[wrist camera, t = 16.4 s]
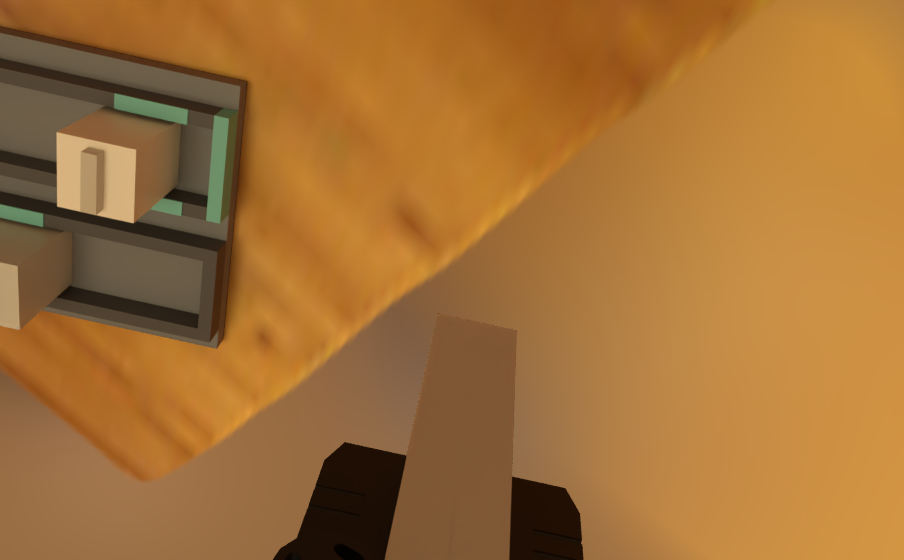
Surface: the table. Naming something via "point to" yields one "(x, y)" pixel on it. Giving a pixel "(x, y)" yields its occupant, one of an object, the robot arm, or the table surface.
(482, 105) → the table surface
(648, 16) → the table surface
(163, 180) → the beige rectangular block
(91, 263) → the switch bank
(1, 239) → the beige handled cube
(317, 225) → the table surface
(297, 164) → the table surface
